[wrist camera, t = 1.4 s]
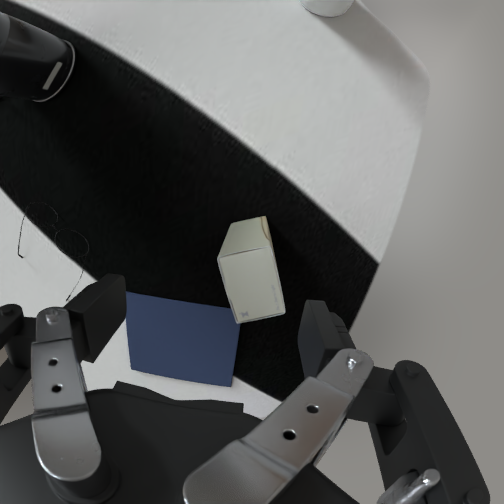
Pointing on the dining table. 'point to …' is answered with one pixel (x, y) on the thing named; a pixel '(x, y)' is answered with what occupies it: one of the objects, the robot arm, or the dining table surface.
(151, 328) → the cloth
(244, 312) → the cosmetic box
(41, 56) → the robot arm
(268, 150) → the dining table surface
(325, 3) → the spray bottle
